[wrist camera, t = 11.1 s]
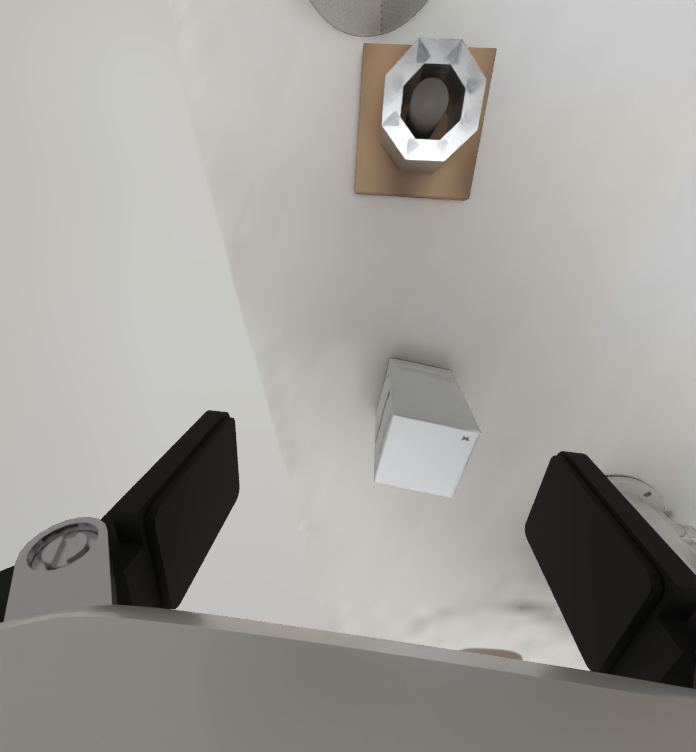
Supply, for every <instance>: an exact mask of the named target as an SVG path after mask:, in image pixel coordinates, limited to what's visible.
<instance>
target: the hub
mask: <svg viewBox="0 0 696 752" xmlns="http://www.w3.org/2000/svg"><path fill="white" fill-rule="evenodd" d="M427 78H437V79H439V80H441V81H442V82H443V83H444V84H445V86H446V87H447V90H448V95H449V100H448V105H447V108H446V111H445V112H446V114H447V115H448V122H447V129H446V135H445V136H444V137H443V138H442V139H441V140H426V139H415V138H414V136H413V135H412V133H411V132H410V130H409V129H408V128H407V126H406V125H405V123H404V122H403V120H402V119H401V117H400V114H401V111H402V110H403V109H404V108H405V107H406V106H407V105H408V104H409V103H410V102H411V99H412V95H413V92H414V90H415V88H416V87H417V85H418V84H419V83H420V82H421V81H423V80H425V79H427ZM486 80H487V79H486V78H485V76H484V75H483V73H482V71H481V70H480V68H479V66H478V65H477V63H476V61H475V60H474V58H473V56H472V54H471V53H470V51H469V49H468V48H467V46H466V44H465V43H464V41H463V39H462V40H460V39H434V38H419V39H418V40H417V41H416V42H415V43H414V44H413V45H412V47H411V48H410V49H409V50H408V51H407V52H406V53H405V54H404V55H403V57H402V58H401V59H400V60H399V61H398V62H397V63H396V64H395V65H394V67H393V68H392V69H391V70H390V71H389V72H388V73H387V74H386V75H385V90H384V102H383V114H382V125H381V145H382V147H383V148H384V150H385V151H386V152H387V154H388V155H389V157H390V158H391V159H392V161H393V162H394V163H395V165H396V166H397V168H398V169H399V170H400V172H408V173H425V174H432V173H433V172H434V171H435V170H436V169H438V168H439V167H440V166H441V165H442V164H443V163H444V162H445V161H446V160H447V159H448V158H449V157H450V156H451V155H452V154H454V153H455V152H456V151H457V150H458V149H459V148H460V147H461V146H462V145H463V144H464V143H465V142H466V141H467V140H468V139H469V138H470V137H471V136H472V135H473V134H474V133H475V132H476V131H477V130H478V124H479V119H480V113H481V108H482V102H483V97H484V91H485V86H486Z"/></svg>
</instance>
